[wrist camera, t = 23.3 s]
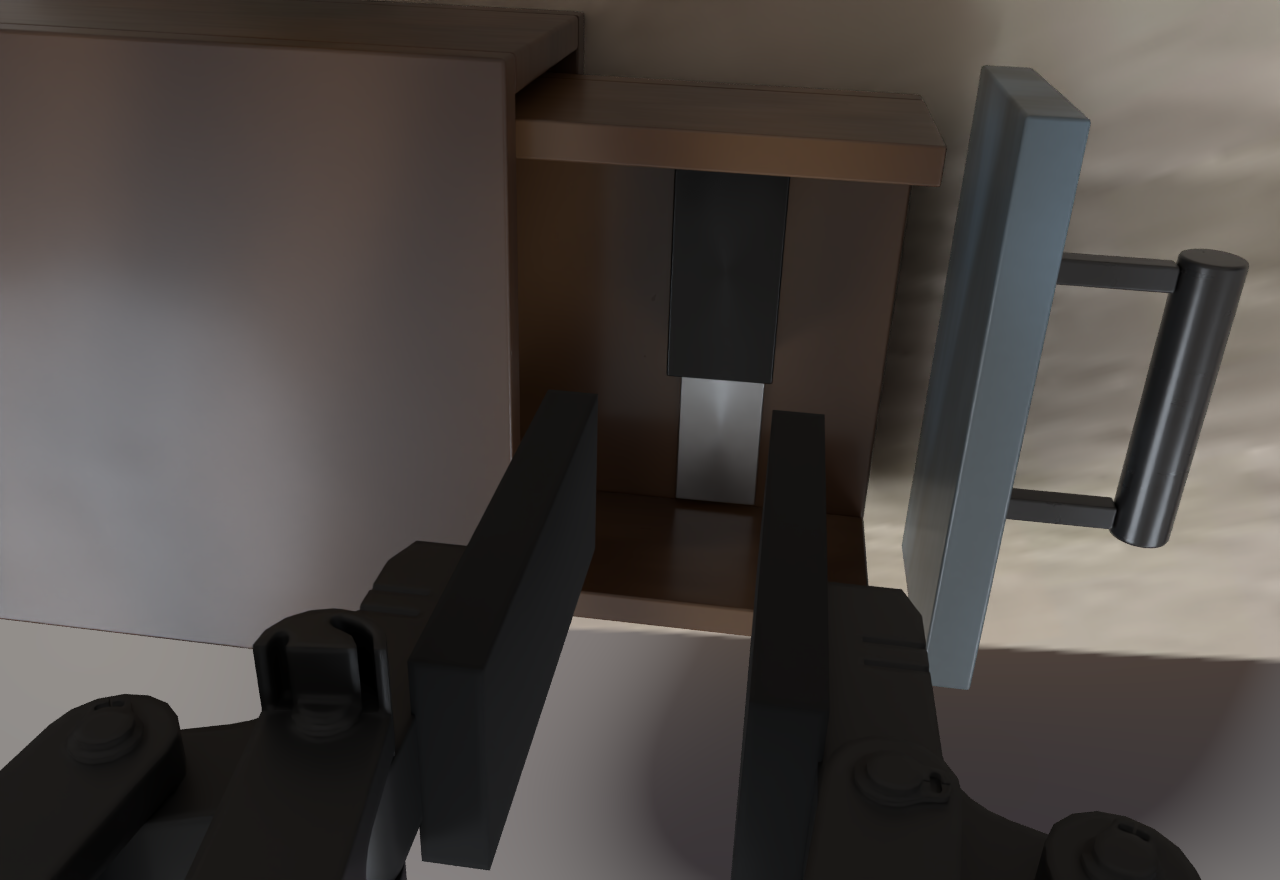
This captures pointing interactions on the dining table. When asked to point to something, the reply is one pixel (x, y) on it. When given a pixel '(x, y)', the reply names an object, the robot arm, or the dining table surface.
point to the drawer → (836, 330)
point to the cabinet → (253, 299)
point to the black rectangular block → (723, 324)
